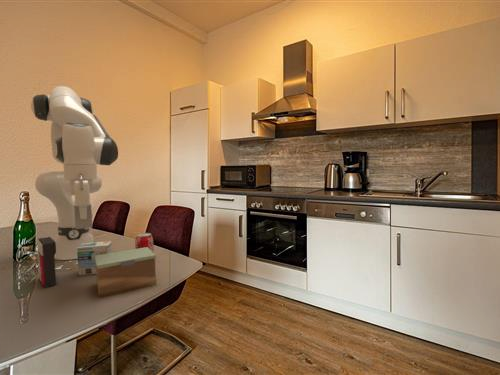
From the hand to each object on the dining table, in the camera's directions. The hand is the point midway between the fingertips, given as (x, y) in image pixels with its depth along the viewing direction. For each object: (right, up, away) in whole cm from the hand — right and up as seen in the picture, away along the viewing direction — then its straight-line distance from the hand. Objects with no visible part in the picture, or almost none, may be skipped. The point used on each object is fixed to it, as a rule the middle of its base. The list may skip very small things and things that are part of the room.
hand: (83, 217), depth 86 cm
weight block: (0, -3, 0) cm, 3 cm away
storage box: (+11, -24, +7) cm, 27 cm away
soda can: (+9, -22, +28) cm, 37 cm away
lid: (+11, -15, +6) cm, 19 cm away
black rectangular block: (-18, -24, +10) cm, 32 cm away
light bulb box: (-7, -23, +19) cm, 31 cm away
